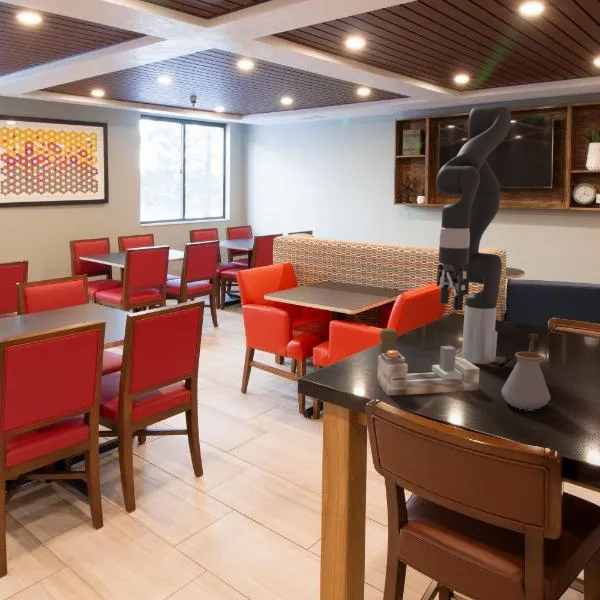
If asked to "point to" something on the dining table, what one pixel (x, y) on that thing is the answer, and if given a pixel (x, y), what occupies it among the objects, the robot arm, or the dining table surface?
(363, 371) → the dining table surface
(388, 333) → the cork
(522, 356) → the coffee pot
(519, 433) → the dining table surface
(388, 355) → the button
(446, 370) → the carriage
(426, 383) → the rail
